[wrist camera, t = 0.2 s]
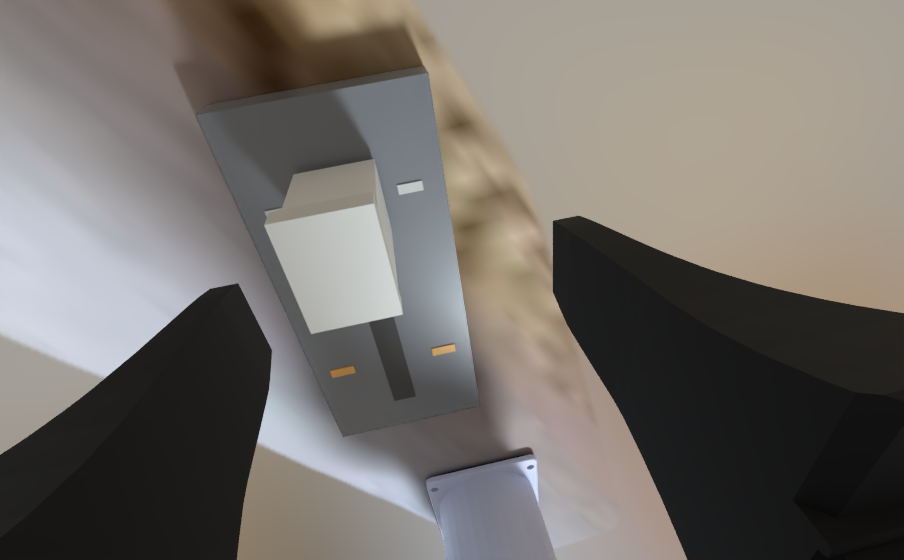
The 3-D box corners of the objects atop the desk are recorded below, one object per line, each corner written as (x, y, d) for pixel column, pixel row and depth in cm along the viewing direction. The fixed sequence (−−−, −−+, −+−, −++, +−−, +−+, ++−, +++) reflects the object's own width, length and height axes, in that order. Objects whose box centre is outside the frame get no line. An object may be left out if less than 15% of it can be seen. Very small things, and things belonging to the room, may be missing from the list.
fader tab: (394, 239, 19) (403, 314, 15) (322, 254, 18) (311, 334, 14) (370, 145, 16) (373, 203, 12) (288, 161, 16) (263, 225, 12)
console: (474, 386, 27) (480, 406, 26) (343, 415, 27) (342, 437, 25) (423, 65, 17) (428, 73, 15) (207, 104, 16) (194, 116, 15)
